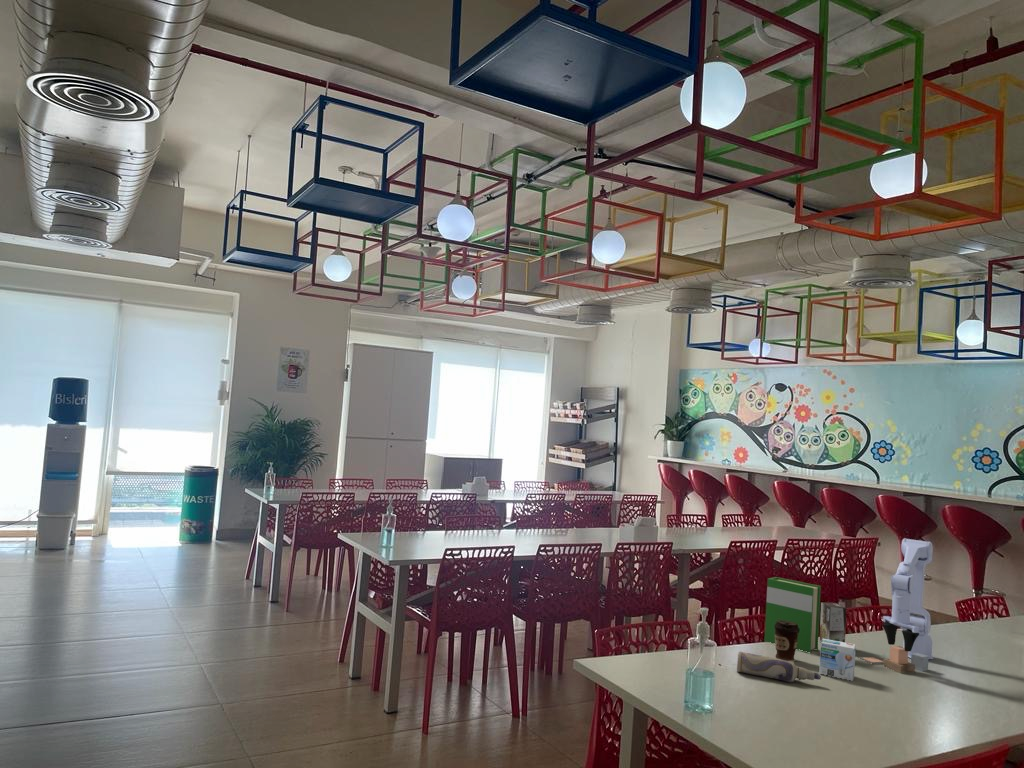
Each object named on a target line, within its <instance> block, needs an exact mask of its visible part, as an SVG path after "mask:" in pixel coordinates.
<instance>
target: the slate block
mask: <svg viewBox="0 0 1024 768" xmlns="http://www.w3.org/2000/svg"><path fill="white" fill-rule="evenodd" d="M910 663H912V664H915V671H919V672H926V671H928V670H929V659H928V656H927V655H923V654H920V653H914V654H911V658H910Z"/></svg>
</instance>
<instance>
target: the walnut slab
mask: <svg viewBox="0 0 1024 768" xmlns="http://www.w3.org/2000/svg"><path fill="white" fill-rule="evenodd" d="M883 661H884V664H882V666H884V667H883V668H886V667H887V668H886V669H888V668H889V669H888V670H891V671H893V670H894V671H893V672H896V673H899V674H909V673H910V674H911V673H915V672H916V669H915V664H912V663H911V662H909V661H908V664H897V663H895V662H892V661H890V658H885V659H883Z"/></svg>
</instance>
